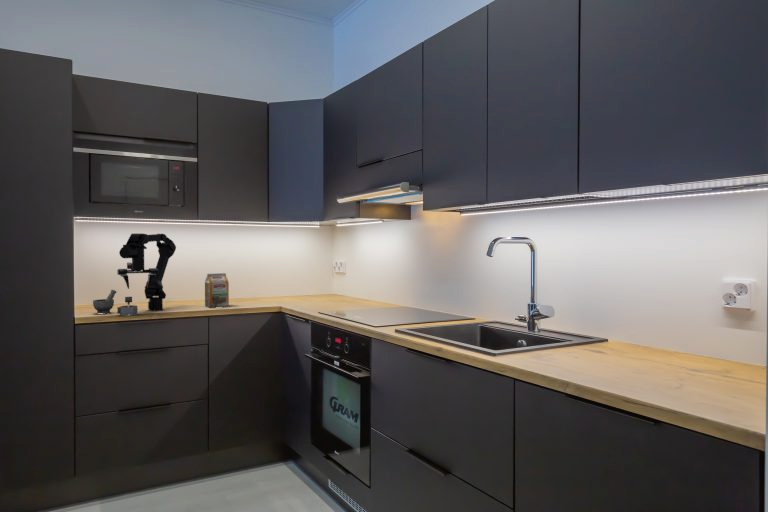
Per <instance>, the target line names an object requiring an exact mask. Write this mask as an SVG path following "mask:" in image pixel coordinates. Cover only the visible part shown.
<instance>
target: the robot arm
mask: <svg viewBox="0 0 768 512" xmlns="http://www.w3.org/2000/svg"><path fill="white" fill-rule="evenodd" d="M150 242H151V243H152V242H156V245H155V246H156V247H157V252H158V255H159V256H158V260H157V263H156V266H155V267H153V268H151V267H150V268H148V269H145V250H147V249H148V248H147V246H146V245H147V244H148V243H150ZM176 249H177V245H176V244H175V242H174V241H173V240H172V239H170V238H169V237H168V236H167V234H165V233H153V234H148V233H131V234H130V236H129V237H128V240H127V242H126V243H125V244H123V245H122V247H121V248H120V250H119V256H120V257H121V259H131V262H126V268H118V269H117V271H116V272H117V275H118V276H120V277H122V278H123V280H124V282H125V285H126V287H127V289H130V282H129V275H128V274H147V281H146V283H145V286H144V290H143V291H144V296H145V298H146V299H148V301H147V310H148V311H150V310H155V311H164V307H163V305H164V304H163V300H165V299H166V298H167V297H166V296H167V294H166V293H165V291H164V290H163V289H164V285H163V283H162V281H163V278H164V276H165V272H166V269H167V266H168V264H169V263H168V262H169V260H170V258H171V257H172V256H174V254H175V252H176ZM146 299H145V300H146Z"/></svg>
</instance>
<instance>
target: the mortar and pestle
mask: <svg viewBox="0 0 768 512" xmlns="http://www.w3.org/2000/svg"><path fill="white" fill-rule="evenodd" d="M116 294H117V290H115V289H111V290H110V293H109V294H108V296H107V297H106V298H102V299H101V298H100V299H94V300H93V299H92V305H93V308H94V309H95V310H96V314H97V313H110V314H111V310H112V309H113V307H114V305H115V304H114V303H115V299H114V297H115V295H116Z"/></svg>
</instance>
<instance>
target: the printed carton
mask: <svg viewBox="0 0 768 512" xmlns="http://www.w3.org/2000/svg"><path fill="white" fill-rule="evenodd" d="M229 286H230V285H229V280H228V277H227V273H226V272H225V273H224V272H222V273H207V274H206V277H205V280H204V307H205V308H208V309H217V308H216V307H222V308H229V307H230V305H229V304H230V301H229V299H230V298H229V297H230V293H229V292H230V290H229Z"/></svg>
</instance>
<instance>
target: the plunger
mask: <svg viewBox="0 0 768 512" xmlns="http://www.w3.org/2000/svg"><path fill="white" fill-rule="evenodd" d="M124 302H125V303H127V305H128V307H130V303H132V302H133V296H124Z"/></svg>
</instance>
